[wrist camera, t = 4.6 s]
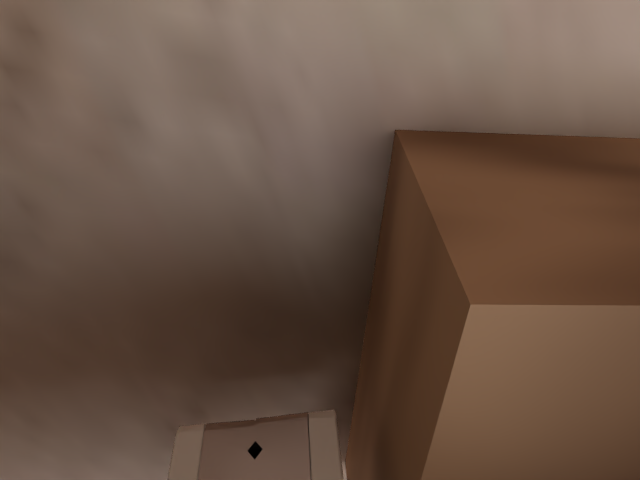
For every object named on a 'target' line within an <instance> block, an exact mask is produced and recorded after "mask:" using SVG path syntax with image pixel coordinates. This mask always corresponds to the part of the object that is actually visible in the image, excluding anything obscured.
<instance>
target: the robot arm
mask: <svg viewBox="0 0 640 480" xmlns="http://www.w3.org/2000/svg"><path fill="white" fill-rule="evenodd" d="M168 480H343V470H342V461H341V452H340V443H339V434H338V425H337V416H336V411H335V410H328V411H319V412H311V413H309V414H308V412H304V413H296V414H288V415H280V416H272V417H264V418H256V420H244V421H232V422H220V423H207V424H197V425H187V426H179V428H178V431H177V433H176V435H175V440H174V446H173V451H172V457H171V463H170V468H169V474H168Z"/></svg>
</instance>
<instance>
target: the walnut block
mask: <svg viewBox="0 0 640 480" xmlns="http://www.w3.org/2000/svg"><path fill="white" fill-rule="evenodd" d="M345 465H346V473H347V480H640V139H637V138H609V137H581V136H553V135H525V134H497V133H469V132H440V131H412V130H395V135H394V142H393V149H392V155H391V162H390V169H389V175H388V182H387V189H386V195H385V202H384V209H383V215H382V222H381V229H380V235H379V242H378V248H377V255H376V262H375V268H374V275H373V282H372V288H371V295H370V302H369V308H368V315H367V322H366V328H365V335H364V342H363V348H362V355H361V362H360V368H359V375H358V382H357V388H356V395H355V401H354V408H353V415H352V421H351V428H350V435H349V441H348V448H347V455H346V461H345Z"/></svg>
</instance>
